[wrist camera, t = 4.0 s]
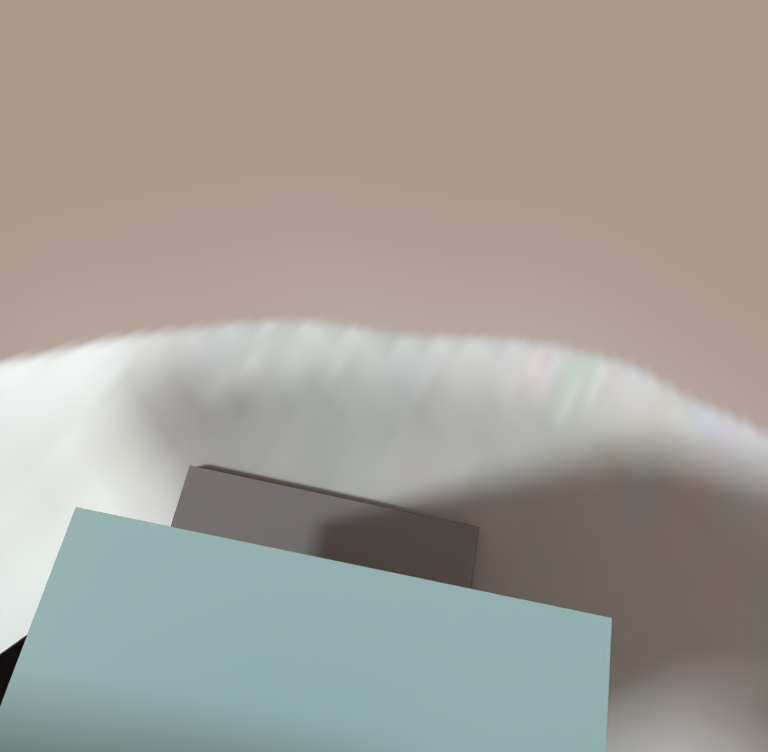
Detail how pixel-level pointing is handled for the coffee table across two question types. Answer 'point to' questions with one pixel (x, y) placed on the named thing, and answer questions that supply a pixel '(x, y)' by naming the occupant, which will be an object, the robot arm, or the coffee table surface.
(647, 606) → the coffee table surface
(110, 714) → the pale teal block
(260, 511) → the mat
